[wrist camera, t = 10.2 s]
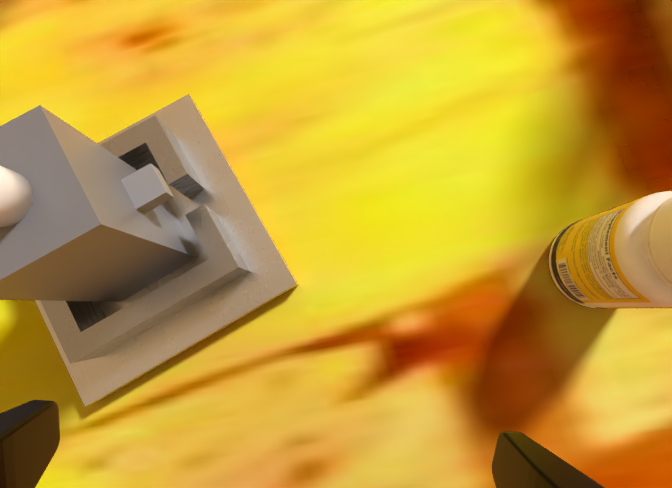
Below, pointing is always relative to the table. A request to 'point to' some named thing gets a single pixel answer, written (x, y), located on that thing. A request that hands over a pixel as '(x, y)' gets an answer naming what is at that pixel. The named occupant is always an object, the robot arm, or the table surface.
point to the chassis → (184, 283)
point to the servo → (80, 217)
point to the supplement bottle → (618, 256)
